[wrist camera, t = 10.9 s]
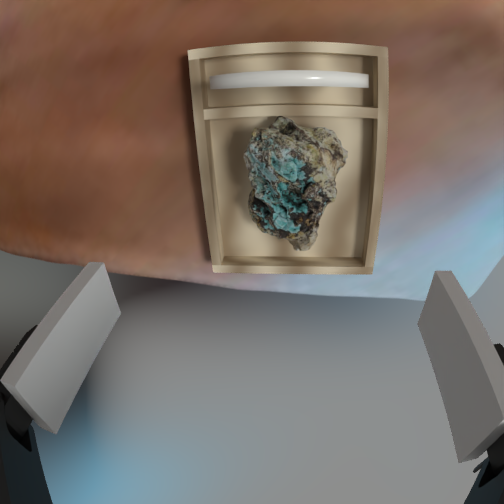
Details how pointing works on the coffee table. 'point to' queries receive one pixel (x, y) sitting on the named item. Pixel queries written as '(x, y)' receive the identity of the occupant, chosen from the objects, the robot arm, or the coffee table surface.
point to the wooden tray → (305, 115)
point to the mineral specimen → (292, 179)
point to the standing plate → (289, 79)
